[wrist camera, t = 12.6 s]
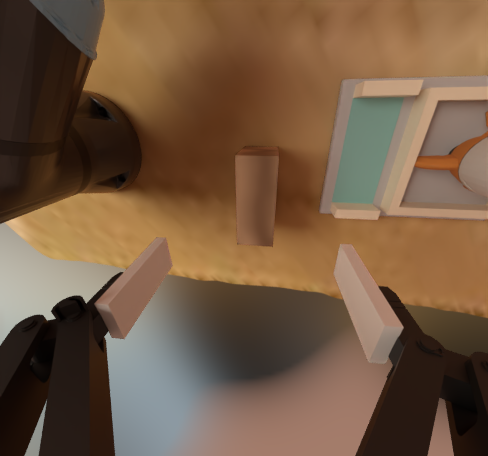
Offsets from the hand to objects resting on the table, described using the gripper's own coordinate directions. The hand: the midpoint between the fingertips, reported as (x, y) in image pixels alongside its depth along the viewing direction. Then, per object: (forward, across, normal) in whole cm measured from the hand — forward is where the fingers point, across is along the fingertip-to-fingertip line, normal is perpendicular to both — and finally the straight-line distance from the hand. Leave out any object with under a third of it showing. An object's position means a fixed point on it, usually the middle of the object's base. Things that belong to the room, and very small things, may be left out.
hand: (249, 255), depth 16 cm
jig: (+20, +22, +4) cm, 30 cm away
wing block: (+20, 0, -1) cm, 21 cm away
